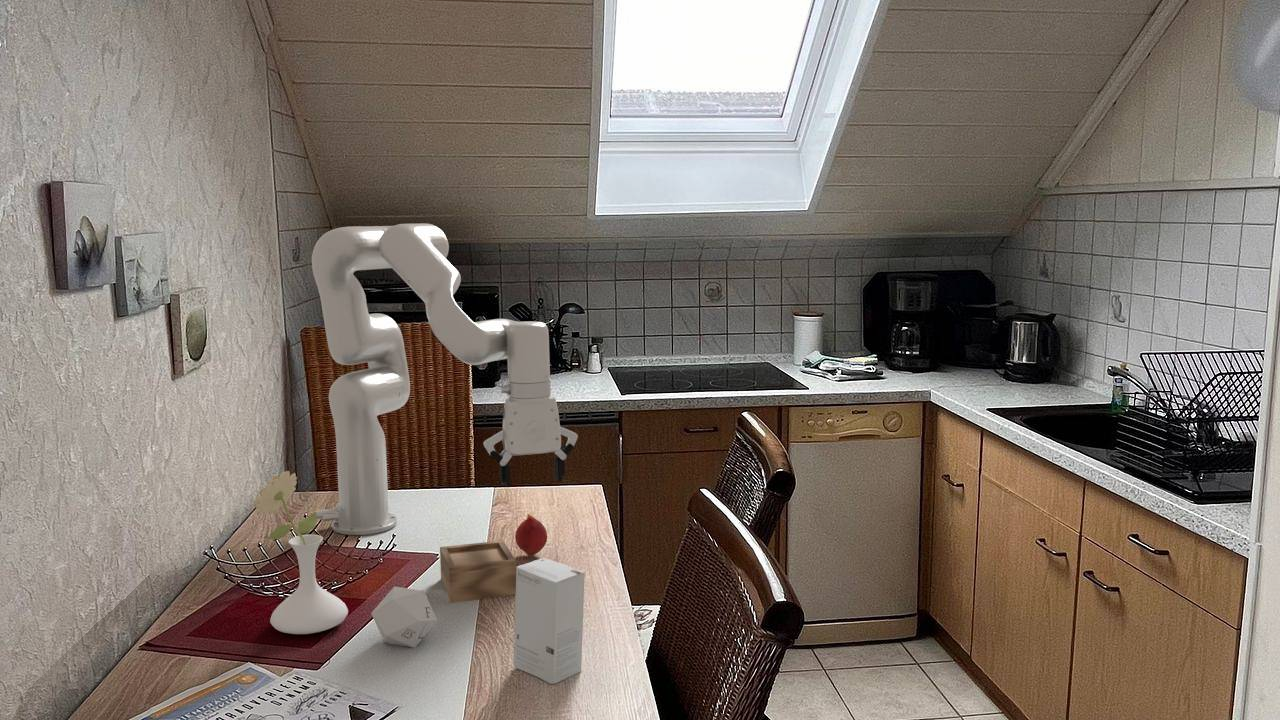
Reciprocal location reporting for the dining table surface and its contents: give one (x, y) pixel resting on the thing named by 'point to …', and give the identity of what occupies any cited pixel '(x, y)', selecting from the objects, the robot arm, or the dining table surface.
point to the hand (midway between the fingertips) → (532, 482)
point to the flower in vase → (300, 568)
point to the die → (404, 616)
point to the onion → (531, 536)
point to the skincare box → (548, 620)
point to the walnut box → (478, 571)
